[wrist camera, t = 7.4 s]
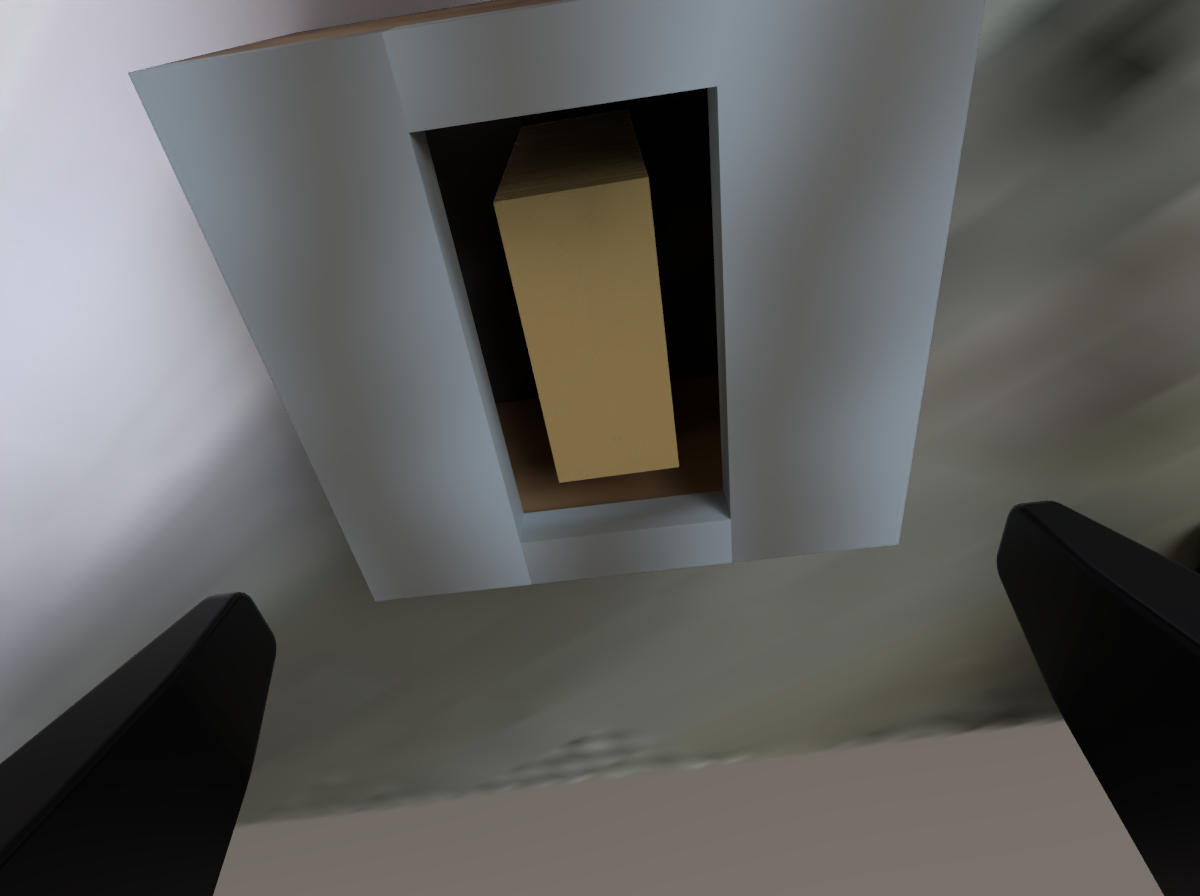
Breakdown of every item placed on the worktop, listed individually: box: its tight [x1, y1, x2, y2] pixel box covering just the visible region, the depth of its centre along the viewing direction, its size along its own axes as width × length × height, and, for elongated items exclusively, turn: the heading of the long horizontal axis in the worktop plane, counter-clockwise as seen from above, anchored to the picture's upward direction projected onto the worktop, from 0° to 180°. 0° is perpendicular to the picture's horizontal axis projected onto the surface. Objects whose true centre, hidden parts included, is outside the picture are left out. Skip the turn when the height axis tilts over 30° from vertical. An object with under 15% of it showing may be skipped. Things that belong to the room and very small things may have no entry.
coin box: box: [128, 0, 985, 602], centre depth 15 cm, size 12×11×7 cm
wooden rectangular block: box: [493, 109, 679, 483], centre depth 16 cm, size 3×6×6 cm, turn 8°
